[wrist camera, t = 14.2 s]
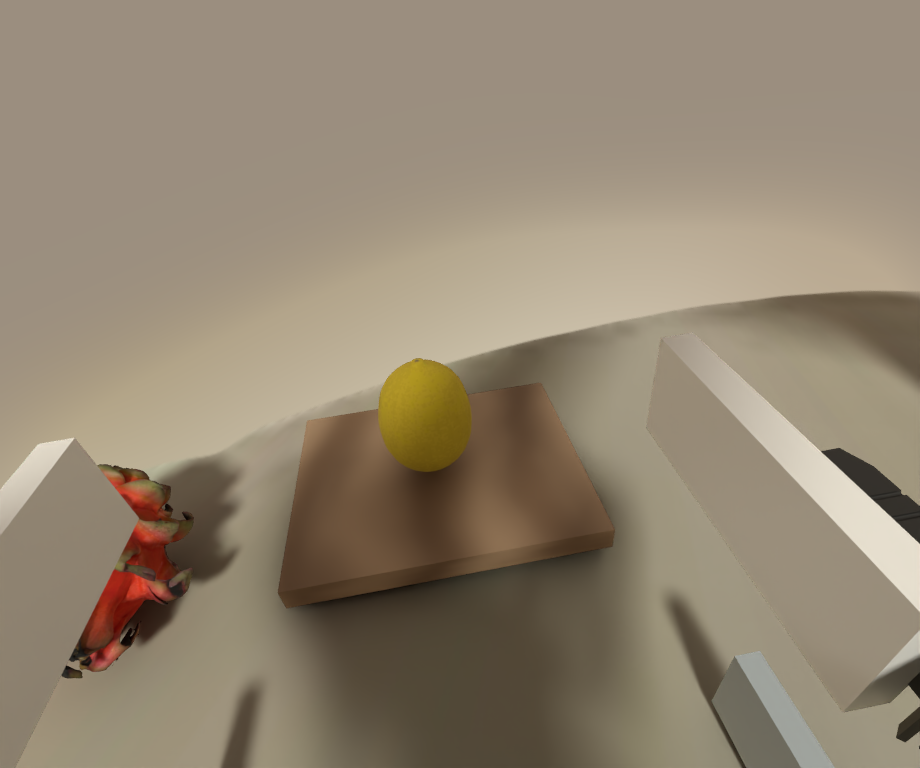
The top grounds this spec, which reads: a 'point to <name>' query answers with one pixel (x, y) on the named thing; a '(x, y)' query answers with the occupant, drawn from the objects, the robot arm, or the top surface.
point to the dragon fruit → (133, 571)
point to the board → (437, 502)
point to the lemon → (424, 415)
